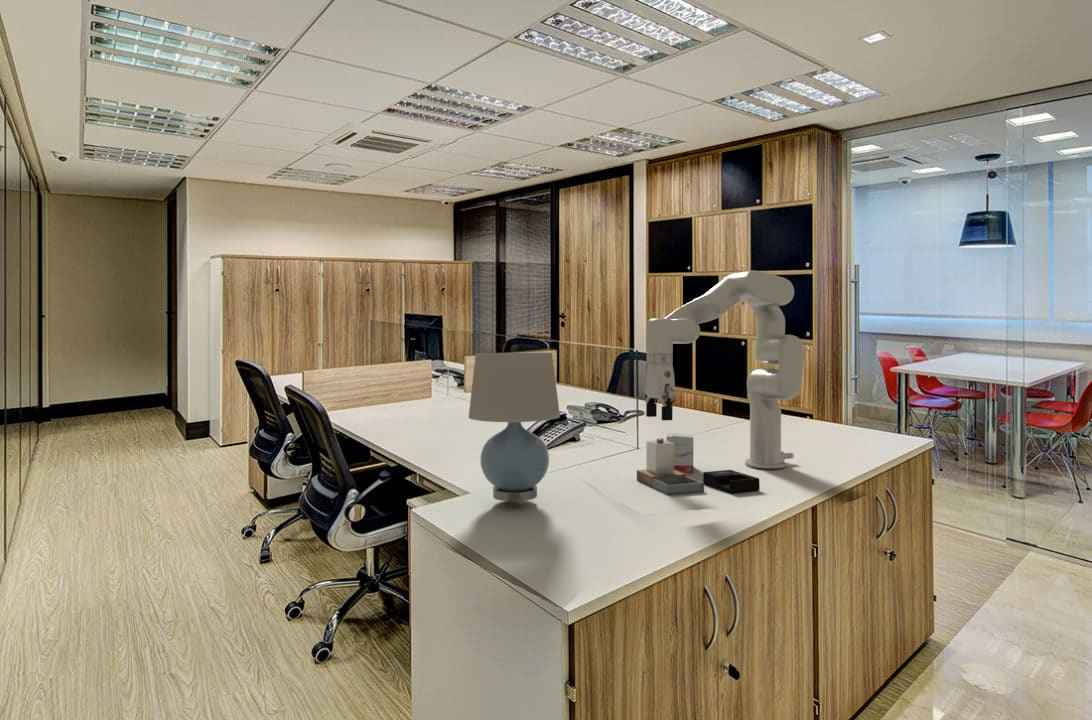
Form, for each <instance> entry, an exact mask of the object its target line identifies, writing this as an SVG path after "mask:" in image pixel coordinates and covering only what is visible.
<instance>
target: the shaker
mask: <svg viewBox="0 0 1092 720" xmlns="http://www.w3.org/2000/svg"><path fill="white" fill-rule="evenodd" d="M645 442H646V455H645V456H646V457H645V458H646V459H645V460H646V463H645V464H646V470H647V471H649V472H651V473H653V474H656V475H657V474H670V473H674V443H672V442H668V441H666V439H665V440H664V438H663V437H662V438H656V440H647V441H645Z"/></svg>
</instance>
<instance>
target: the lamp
mask: <svg viewBox="0 0 1092 720" xmlns="http://www.w3.org/2000/svg"><path fill="white" fill-rule="evenodd" d="M553 359H554V358H553V352H482V353H481V352H480V353H475V355H474V364H473V372H472V373H473V374H472V382H471V383H472V384H471V391H470V392H471V393H470V399H469V400H470V401H469V411H468V419H469V420H473V421H479V422H492V423H507V425H506V427H505V428H504V429H502V430H501V431H499V432H497V433H496V434H494V435H492V436H491V437H489V439H488V440H487V441H486V442H485V443H484V445H483V446H482V449H481V453H480V458H479V459H480V467H481V470H482V473H483V475H484V477H485V479H486V480H487V481H488V482H489V483H490V484H491V485H492V486H493V487H492V498H493V499H495V500H496V501H497V500H498V501H503V502H525V501H530V500H534V499H536V498H537V497H538V486H537V485H538V484H539V483H540V482H541V481H542V480H543V479H544V477H545V475H546V474H547V471H548V469H549V464H550V454H549V450H548V447H547V446H546V444H545V442H544V441H543V439H541V438H540V437H539V436H538V435H536V434H534V433H533V432H531V431H529V430H528V429H526V428H525V427H524V426H523V424H522V423H526V422H527V423H528V422H542V421H543V422H544V421H551V420H555V419H559V418H560V417H561V413H560V412H561V411H560V406H559V397H558V390H557V383H556V375H555V374H556V373H555V369H554V368H555V367H554V366H555V365H554V360H553Z"/></svg>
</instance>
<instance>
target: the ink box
mask: <svg viewBox="0 0 1092 720" xmlns="http://www.w3.org/2000/svg"><path fill="white" fill-rule="evenodd" d="M665 441H668V442H672V443H674V470H676V471H679V472H682V473H684V474H693V473H694V435H693V434H692V433H679V432H677V433H676V432H673V433H671V432H669V433H666V439H665Z"/></svg>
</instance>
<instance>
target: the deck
mask: <svg viewBox="0 0 1092 720" xmlns="http://www.w3.org/2000/svg"><path fill="white" fill-rule="evenodd" d="M679 476H687V473H682V472H679V471H676V470H674V473H670V474H657V475H656V474H653V473H651V472H649V471H647V469H637V470H636V481H638V482H640V483H642V484H644V485H647V486H648V487H650V488H652V487H651V486H652V484H651V482H652V479H653V478H666V477H679ZM651 478H652V479H651Z"/></svg>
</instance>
